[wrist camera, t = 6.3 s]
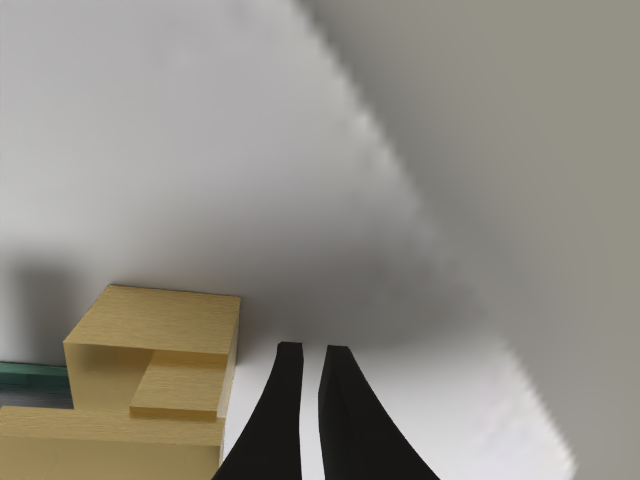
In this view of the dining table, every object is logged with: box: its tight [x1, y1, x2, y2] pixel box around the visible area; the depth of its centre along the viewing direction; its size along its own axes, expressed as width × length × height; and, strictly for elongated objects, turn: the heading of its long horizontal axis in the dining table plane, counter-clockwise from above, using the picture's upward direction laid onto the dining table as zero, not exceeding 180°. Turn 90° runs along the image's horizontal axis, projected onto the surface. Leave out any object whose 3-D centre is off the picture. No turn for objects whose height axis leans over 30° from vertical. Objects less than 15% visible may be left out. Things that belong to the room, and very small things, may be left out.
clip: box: [0, 285, 241, 480], centre depth 10 cm, size 3×5×5 cm, turn 81°
